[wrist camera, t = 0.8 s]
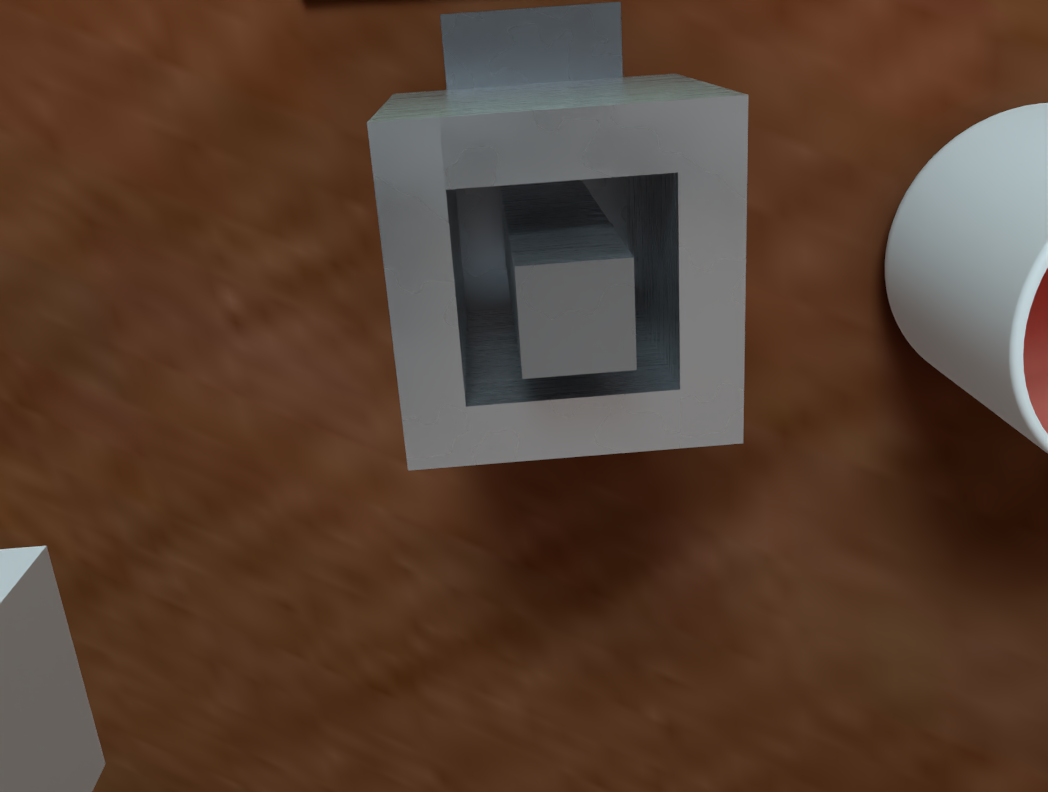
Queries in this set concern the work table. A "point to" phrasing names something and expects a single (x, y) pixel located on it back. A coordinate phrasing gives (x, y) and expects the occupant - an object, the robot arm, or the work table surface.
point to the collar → (652, 238)
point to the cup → (980, 265)
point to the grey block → (547, 200)
